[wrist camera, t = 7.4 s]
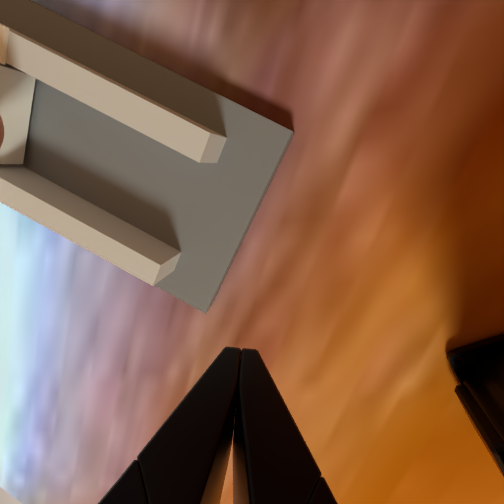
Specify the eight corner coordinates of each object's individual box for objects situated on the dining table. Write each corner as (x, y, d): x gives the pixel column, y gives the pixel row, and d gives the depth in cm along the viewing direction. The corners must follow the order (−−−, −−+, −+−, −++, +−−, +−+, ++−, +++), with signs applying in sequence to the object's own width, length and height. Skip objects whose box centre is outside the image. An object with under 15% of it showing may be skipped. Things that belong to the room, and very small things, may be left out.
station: (294, 133, 15) (280, 115, 10) (210, 306, 20) (167, 363, 14) (-24, -25, 17) (-198, -122, 11) (-37, 170, 21) (-168, 172, 15)
